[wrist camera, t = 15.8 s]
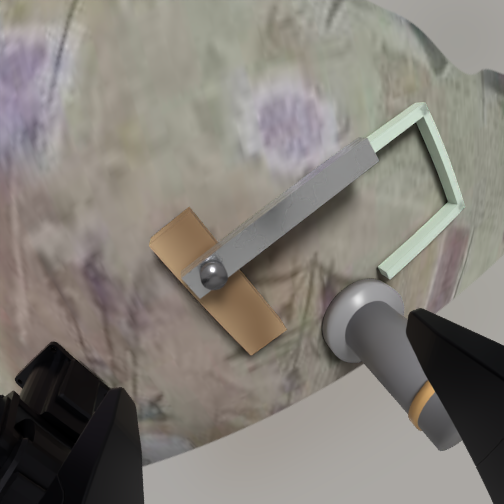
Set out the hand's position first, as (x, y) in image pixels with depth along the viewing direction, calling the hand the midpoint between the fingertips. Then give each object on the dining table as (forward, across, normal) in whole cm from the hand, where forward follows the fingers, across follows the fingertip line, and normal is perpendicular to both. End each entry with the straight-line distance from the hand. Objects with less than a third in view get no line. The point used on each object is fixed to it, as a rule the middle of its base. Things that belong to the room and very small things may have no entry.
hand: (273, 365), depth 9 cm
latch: (+10, -3, 0) cm, 11 cm away
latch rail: (+12, +1, +4) cm, 12 cm away
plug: (+11, -9, +11) cm, 18 cm away
